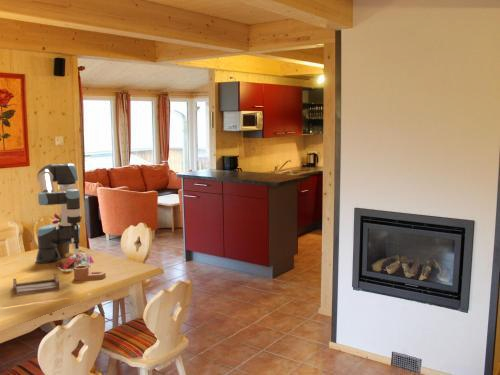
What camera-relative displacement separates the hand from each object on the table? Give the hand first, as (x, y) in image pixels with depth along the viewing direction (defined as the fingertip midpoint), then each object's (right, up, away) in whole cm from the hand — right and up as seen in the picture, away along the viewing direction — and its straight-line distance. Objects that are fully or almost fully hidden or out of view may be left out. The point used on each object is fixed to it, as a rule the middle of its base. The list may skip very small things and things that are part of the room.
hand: (75, 251), depth 293 cm
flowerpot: (-30, -10, +55) cm, 63 cm away
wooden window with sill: (-17, -19, -15) cm, 29 cm away
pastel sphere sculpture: (-10, -14, +29) cm, 33 cm away
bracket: (+7, -17, +4) cm, 18 cm away
